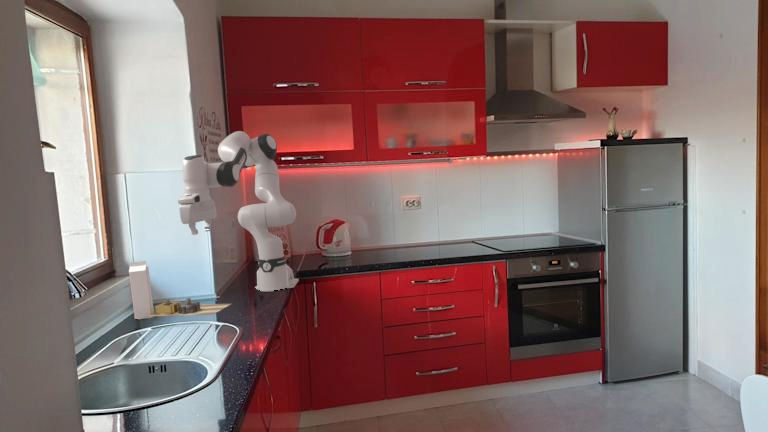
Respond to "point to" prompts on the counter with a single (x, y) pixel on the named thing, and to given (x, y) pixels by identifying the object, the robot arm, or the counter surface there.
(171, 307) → the toothed rectangular frame
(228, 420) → the counter surface
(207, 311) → the gear board
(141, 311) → the milk
